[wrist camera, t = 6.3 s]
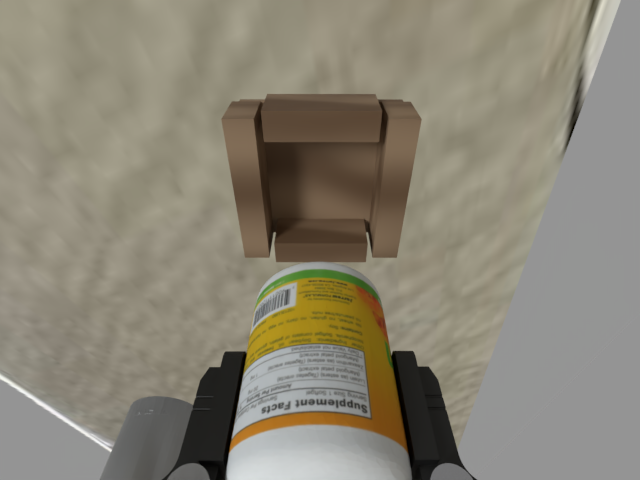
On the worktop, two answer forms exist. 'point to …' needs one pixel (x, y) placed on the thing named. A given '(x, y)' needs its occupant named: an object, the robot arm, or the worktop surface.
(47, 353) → the worktop surface
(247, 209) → the socket block
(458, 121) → the worktop surface
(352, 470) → the supplement bottle
